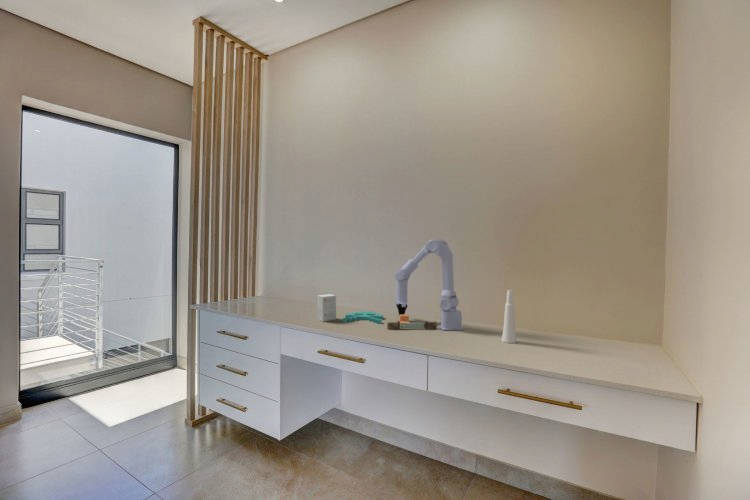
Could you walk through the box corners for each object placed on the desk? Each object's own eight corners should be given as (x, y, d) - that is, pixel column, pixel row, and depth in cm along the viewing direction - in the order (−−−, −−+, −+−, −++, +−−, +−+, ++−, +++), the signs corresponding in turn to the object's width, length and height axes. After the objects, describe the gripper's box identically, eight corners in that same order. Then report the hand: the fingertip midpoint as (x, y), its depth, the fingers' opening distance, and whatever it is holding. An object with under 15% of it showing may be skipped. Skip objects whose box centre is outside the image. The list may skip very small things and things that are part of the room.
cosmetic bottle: (513, 344, 146) (514, 291, 146) (499, 341, 150) (500, 290, 150) (518, 341, 151) (520, 290, 150) (504, 338, 155) (506, 288, 154)
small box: (330, 317, 191) (330, 293, 190) (336, 319, 186) (336, 295, 185) (316, 319, 186) (317, 295, 185) (322, 321, 181) (322, 296, 180)
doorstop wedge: (407, 323, 181) (407, 314, 181) (410, 327, 173) (410, 318, 173) (399, 323, 181) (399, 314, 181) (401, 327, 173) (401, 318, 173)
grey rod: (424, 327, 170) (424, 322, 170) (425, 328, 169) (425, 323, 169) (400, 327, 169) (400, 322, 169) (400, 328, 168) (400, 323, 168)
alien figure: (381, 324, 179) (383, 315, 198) (381, 320, 178) (384, 312, 198) (342, 323, 181) (349, 314, 200) (342, 318, 180) (349, 310, 200)
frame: (435, 327, 171) (436, 320, 171) (436, 329, 169) (437, 321, 169) (387, 328, 169) (387, 321, 169) (387, 329, 167) (387, 322, 167)
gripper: (392, 290, 192) (392, 314, 193) (396, 294, 178) (395, 321, 178) (405, 290, 193) (405, 314, 193) (410, 294, 178) (409, 321, 179)
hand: (401, 317), depth 186 cm, fingers closed
